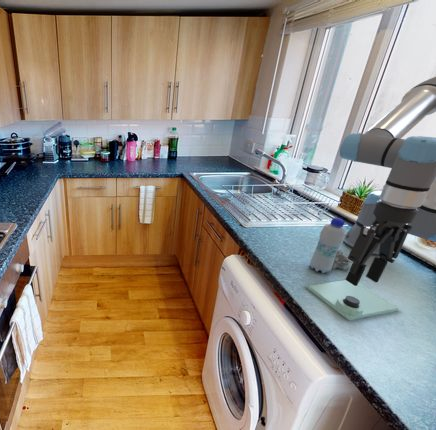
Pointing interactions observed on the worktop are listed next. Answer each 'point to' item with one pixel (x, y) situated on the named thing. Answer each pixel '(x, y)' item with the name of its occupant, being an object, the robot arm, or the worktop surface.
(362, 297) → the scale
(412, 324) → the worktop surface
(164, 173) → the worktop surface
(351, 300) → the button
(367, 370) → the worktop surface
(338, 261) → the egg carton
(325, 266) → the bottle
